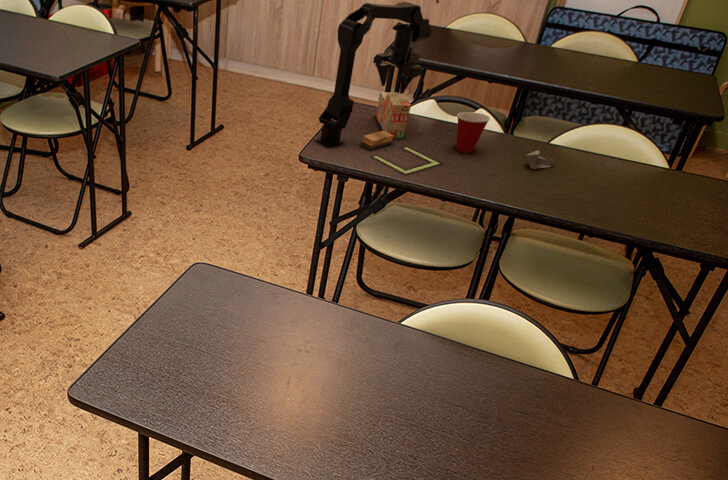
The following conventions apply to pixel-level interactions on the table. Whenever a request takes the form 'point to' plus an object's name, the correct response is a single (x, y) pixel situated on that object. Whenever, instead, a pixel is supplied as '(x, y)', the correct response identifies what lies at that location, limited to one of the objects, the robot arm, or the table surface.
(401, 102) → the tan printed boxy piece
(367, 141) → the chalkboard eraser
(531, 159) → the paper boat
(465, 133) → the plastic cup
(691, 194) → the table surface
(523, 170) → the table surface
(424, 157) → the tape box
